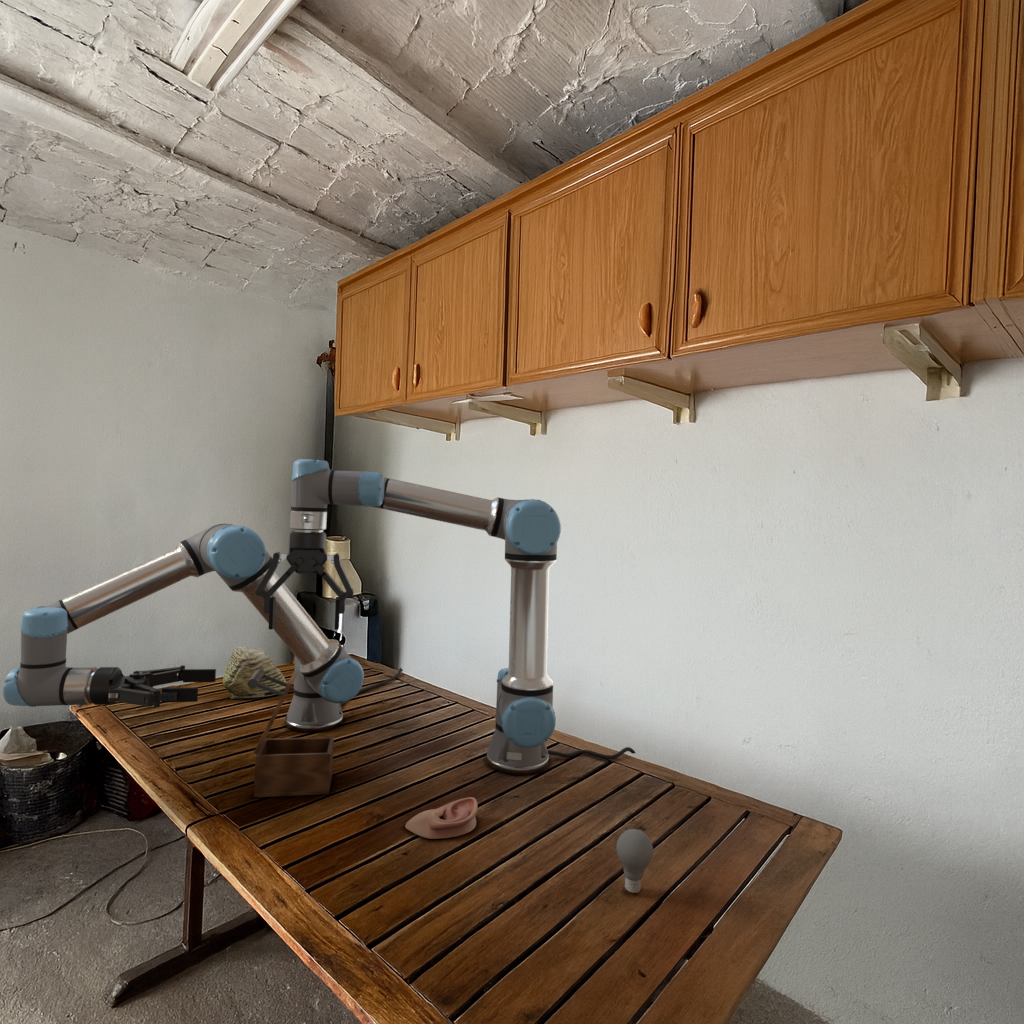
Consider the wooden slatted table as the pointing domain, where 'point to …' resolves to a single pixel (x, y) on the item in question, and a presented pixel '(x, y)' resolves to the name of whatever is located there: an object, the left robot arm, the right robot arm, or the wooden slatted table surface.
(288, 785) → the chest
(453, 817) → the anatomical model
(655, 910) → the wooden slatted table surface
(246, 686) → the fossil
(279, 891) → the wooden slatted table surface
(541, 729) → the right robot arm
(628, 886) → the light bulb
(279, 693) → the lid
